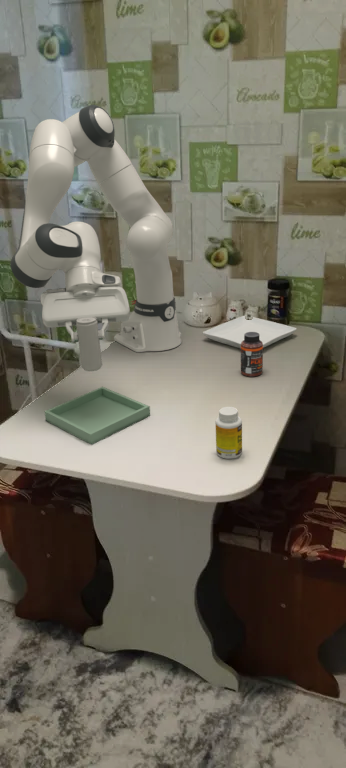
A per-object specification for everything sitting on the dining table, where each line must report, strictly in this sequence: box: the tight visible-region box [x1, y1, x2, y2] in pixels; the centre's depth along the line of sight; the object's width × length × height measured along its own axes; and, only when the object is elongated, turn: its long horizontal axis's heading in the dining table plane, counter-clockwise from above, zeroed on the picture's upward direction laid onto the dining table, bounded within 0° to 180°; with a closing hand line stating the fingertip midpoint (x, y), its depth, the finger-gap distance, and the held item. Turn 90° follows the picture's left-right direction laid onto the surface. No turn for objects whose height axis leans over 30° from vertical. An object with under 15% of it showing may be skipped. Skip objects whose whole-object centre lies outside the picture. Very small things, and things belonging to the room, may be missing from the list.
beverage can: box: [75, 317, 103, 372], centre depth 149 cm, size 5×5×12 cm
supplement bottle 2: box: [240, 332, 264, 378], centre depth 174 cm, size 6×6×11 cm
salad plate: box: [202, 315, 297, 350], centre depth 199 cm, size 21×21×3 cm
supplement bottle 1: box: [215, 406, 243, 460], centre depth 137 cm, size 6×6×10 cm
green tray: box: [44, 386, 151, 445], centre depth 156 cm, size 18×18×3 cm
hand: (88, 339), depth 148 cm, fingers closed on beverage can, 5 cm apart
